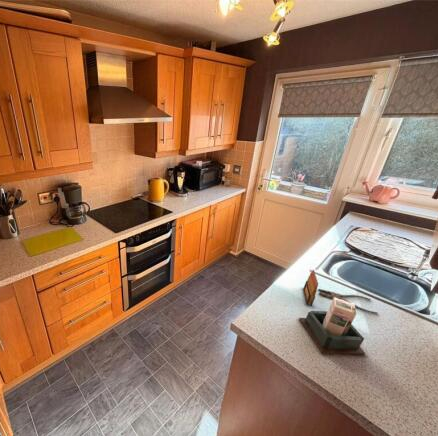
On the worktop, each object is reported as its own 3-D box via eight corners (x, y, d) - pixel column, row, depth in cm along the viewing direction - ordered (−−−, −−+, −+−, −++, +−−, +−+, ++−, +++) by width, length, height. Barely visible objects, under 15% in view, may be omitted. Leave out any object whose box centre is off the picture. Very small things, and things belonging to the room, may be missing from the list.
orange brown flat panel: (303, 288, 107) (310, 267, 102) (307, 290, 106) (315, 269, 101) (306, 304, 98) (315, 282, 93) (311, 306, 97) (320, 284, 92)
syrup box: (320, 336, 83) (334, 306, 77) (321, 325, 87) (334, 296, 81) (340, 344, 80) (356, 314, 74) (339, 332, 84) (355, 303, 78)
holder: (335, 321, 90) (340, 309, 88) (364, 355, 78) (371, 343, 75) (298, 319, 91) (303, 308, 88) (321, 353, 78) (327, 341, 76)
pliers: (383, 313, 92) (325, 303, 97) (382, 315, 93) (325, 305, 97) (369, 296, 101) (317, 288, 106) (368, 298, 101) (316, 289, 106)
